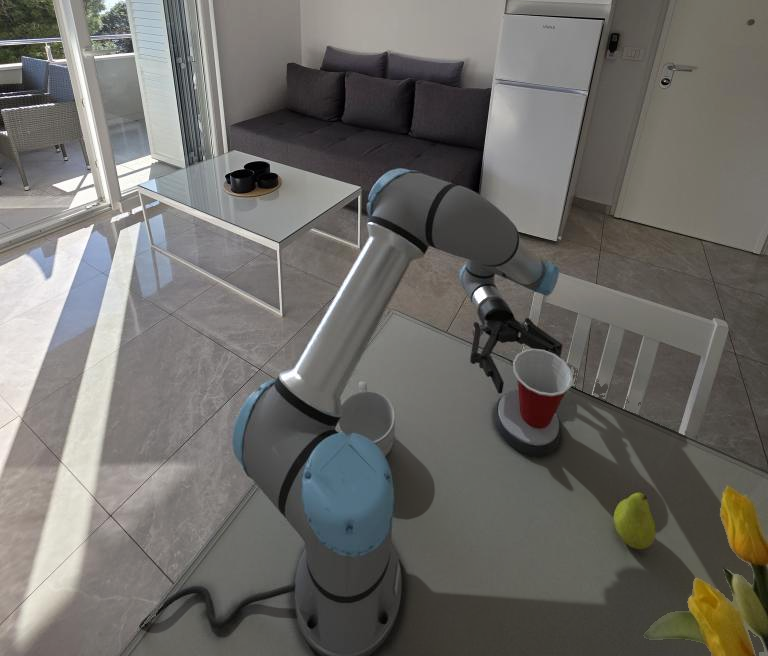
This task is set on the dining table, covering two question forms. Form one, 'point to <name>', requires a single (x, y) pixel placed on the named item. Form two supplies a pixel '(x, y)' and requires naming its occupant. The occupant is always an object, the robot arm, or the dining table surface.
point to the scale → (524, 428)
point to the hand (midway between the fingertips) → (534, 384)
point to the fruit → (635, 521)
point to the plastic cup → (540, 385)
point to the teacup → (369, 417)
